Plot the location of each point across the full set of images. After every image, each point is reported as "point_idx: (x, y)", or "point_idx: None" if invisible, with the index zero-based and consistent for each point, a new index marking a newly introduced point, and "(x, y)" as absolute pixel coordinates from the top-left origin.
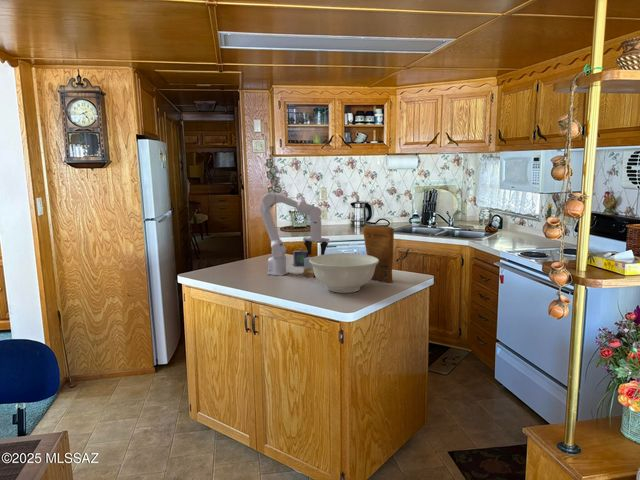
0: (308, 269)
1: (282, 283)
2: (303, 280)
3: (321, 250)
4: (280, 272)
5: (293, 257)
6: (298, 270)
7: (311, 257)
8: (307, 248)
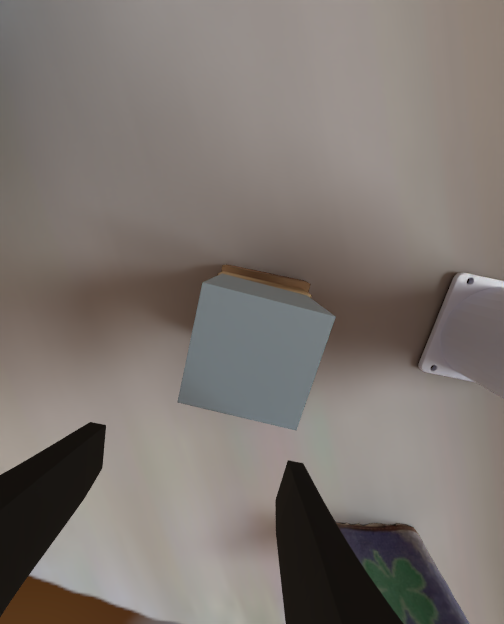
0: (262, 282)
1: (419, 7)
2: (271, 161)
3: (13, 491)
4: (487, 294)
5: (456, 602)
6: (365, 437)
7: (248, 402)
8: (352, 576)
